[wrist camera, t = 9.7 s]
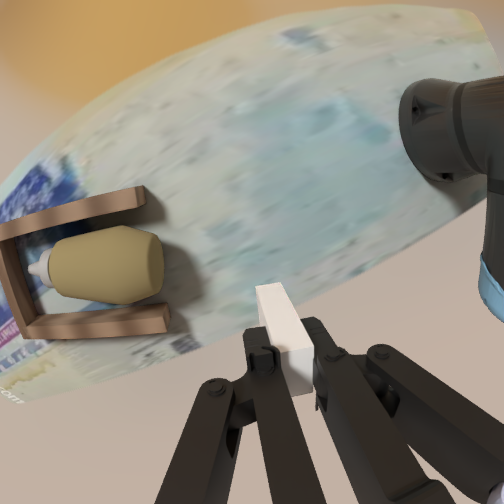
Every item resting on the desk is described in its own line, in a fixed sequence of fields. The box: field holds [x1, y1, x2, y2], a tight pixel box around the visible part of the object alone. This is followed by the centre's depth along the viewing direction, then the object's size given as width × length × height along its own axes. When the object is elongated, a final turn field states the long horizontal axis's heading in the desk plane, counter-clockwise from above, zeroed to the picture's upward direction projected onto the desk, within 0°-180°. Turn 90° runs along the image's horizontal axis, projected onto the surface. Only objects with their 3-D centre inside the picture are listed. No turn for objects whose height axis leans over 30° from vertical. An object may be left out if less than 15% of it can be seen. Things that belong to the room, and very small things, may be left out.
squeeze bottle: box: [28, 225, 164, 305], centre depth 26 cm, size 8×8×18 cm
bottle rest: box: [0, 185, 171, 339], centre depth 27 cm, size 23×16×4 cm
